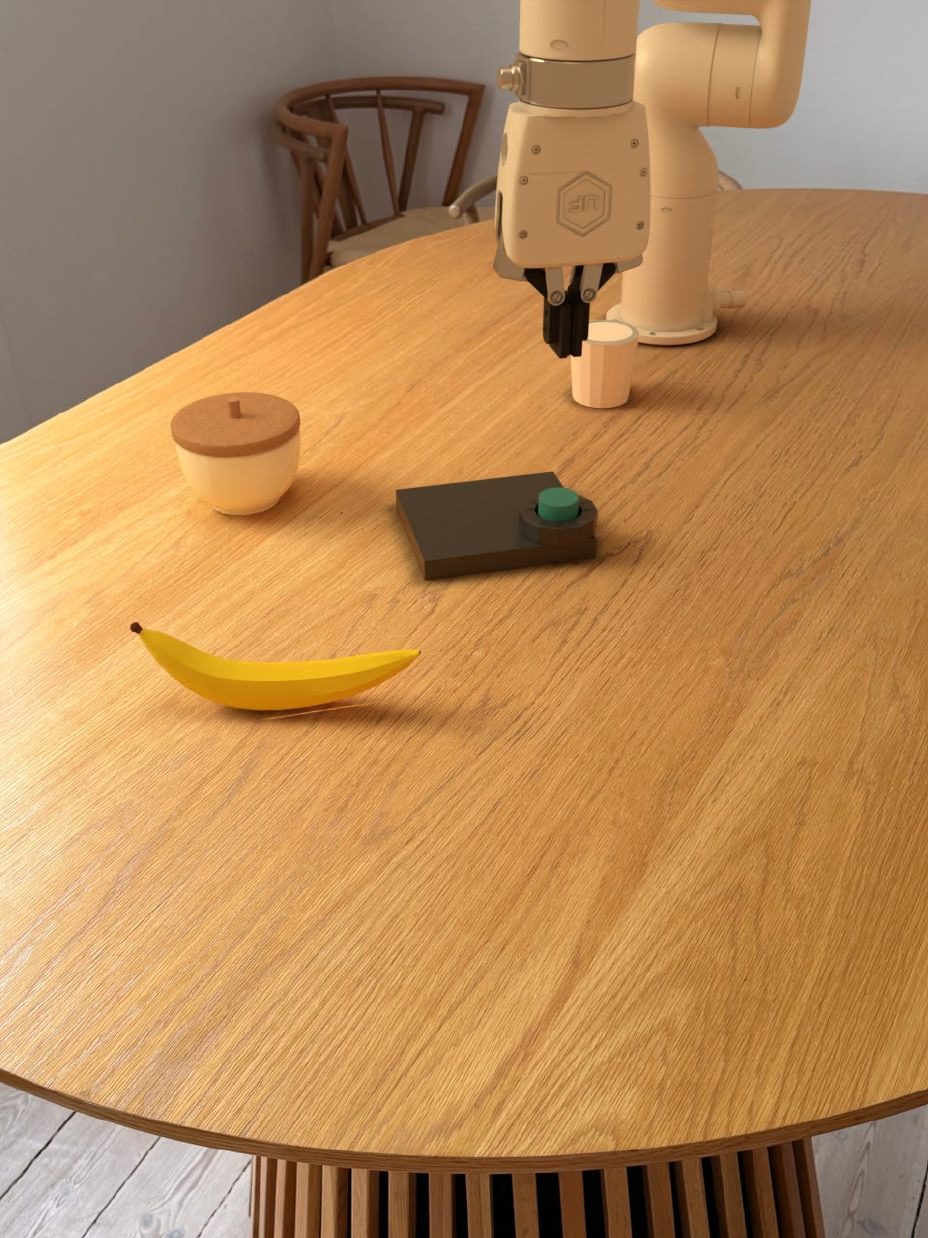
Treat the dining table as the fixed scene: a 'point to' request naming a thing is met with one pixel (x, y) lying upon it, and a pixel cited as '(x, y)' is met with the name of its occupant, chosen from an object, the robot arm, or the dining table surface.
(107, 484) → the dining table surface
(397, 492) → the scale
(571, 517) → the button
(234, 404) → the cream bowl with lid
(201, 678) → the banana
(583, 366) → the cream tapered cup
